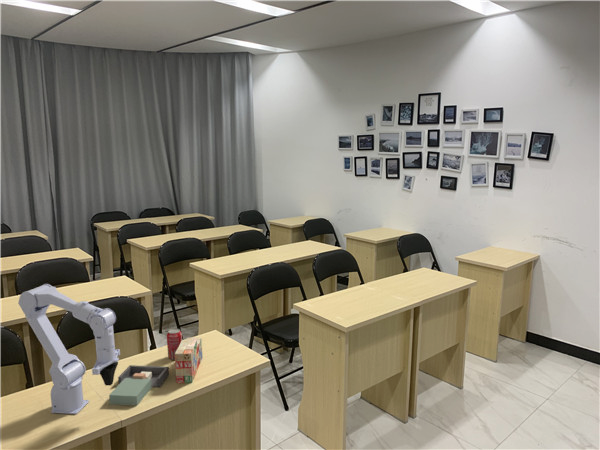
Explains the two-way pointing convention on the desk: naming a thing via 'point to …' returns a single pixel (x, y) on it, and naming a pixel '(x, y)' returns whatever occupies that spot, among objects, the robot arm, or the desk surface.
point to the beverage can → (173, 342)
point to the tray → (157, 371)
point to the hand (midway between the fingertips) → (108, 384)
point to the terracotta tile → (139, 375)
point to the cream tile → (148, 375)
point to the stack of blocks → (188, 359)
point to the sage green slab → (130, 391)
